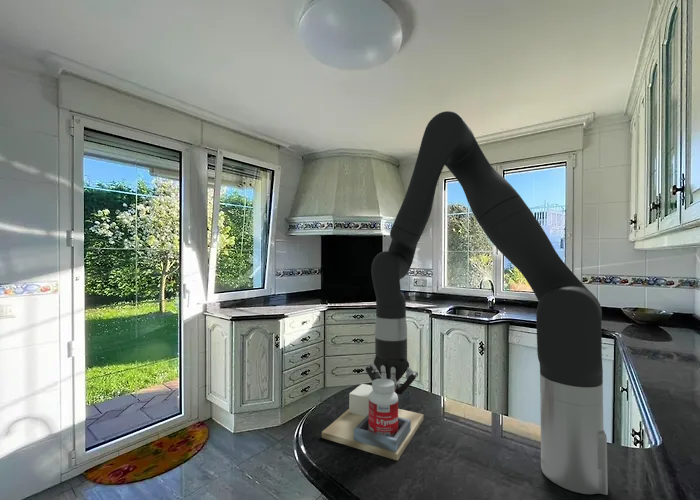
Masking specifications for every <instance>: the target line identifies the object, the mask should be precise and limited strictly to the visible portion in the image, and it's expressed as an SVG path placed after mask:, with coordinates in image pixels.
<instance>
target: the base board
mask: <svg viewBox="0 0 700 500" xmlns="http://www.w3.org/2000/svg"><path fill="white" fill-rule="evenodd" d="M424 416H425V415H424V414H422V413H419V412H415V411H410V410H405V409H402V408H401V409H400V408H398V432H397V434H396V435H395V436H394V438H393V437H389V436H386V435H382V434H378V433H374V432H371V431H369V414H368V415H367V416H366V417H365V416H361V415H357V414H353V413H349V408H348V409H347V410H346V411H345V412H343V414H340V416H339V417H337V418H336V419H335V420H334V421H333V422H331V423H330V424H329V425H328V426H327V427H326V428H324V429H323V430H322V431H321V438H322V439H325V440H327V441H331V442H335V443H338V444H341V445H345V446H347V447H351V448H354V449H358V450H361V451H365V452H368V453H371V454H373V455H378V456H381V457H384V458H388V459H391V460H394V461H399V459H400V457H401V456H402V455H403V452H404V451H405V449H406V448H407V446H408V445H409V443H410V442H411V440H412V439H413V437H414V436H415V434H416V432H417V431H418V429H419V428H420V426H421V425H422V423H423V421H424Z"/></svg>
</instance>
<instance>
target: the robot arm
mask: <svg viewBox="0 0 700 500" xmlns="http://www.w3.org/2000/svg"><path fill="white" fill-rule="evenodd" d="M444 167H446V168H447V169H448V171H450V173H451V174H452V175H453V176H454V178H455V179H456V180H457V181H458V183H459V184H460V186H461V187H462V190H463V192H464V195H465V197H466V201H467V203H468V206H469V208H470V210H471V212H472V214H473V216H474V218H475V220H476V222H477V223H478V225H479V226H480V228H481V229H482V231H484V232H483V233H485V235H486V237H487V238H488V240H489V241H490V242H491V243H492V244H493V246H494V247H495V248H496V249H497V250H498V251H499V252H500V253H501V255H503V256H504V257H505V258H506V259H507V260H508V261H509V263H511V264H512V265H513V266H514V267H515V268H516V269H517V270H518V271H519V272H520V273H521V275H522V276H523V278H525V280H526V282H527V283H528V285H529V287H530V288H531V290H532V292H533V293H534V295H535V297H536V299H537V301H538V304H537V308H536V313H535V314H536V321H535V323H536V350H537V351H536V352H537V354H536V355H537V359H538V362H539V385H540V386H539V388H540V389H539V391H540V392H539V394H540V395H539V396H540V397H539V399H540V401H539V403H540V407H539V408H540V467H541V471H542V473H543V475H544V476H545V477H546V478H547V479H548V480H550V481H551V482H552V483H554V484H556V485H557V486H559V487H561V488H563V489H565V490H568V491H571V492H574V493H579V494H583V495H595V494H597V495H598V494H601V495H605V496H607V495H609V492H608V486H609V485H608V483H609V482H608V443H607V442H608V438H607V433H606V432H605V429H604V428H605V427H604V387H603V386H604V384H603V383H604V382H603V381H604V376H603V373H604V370H603V345H602V343H603V342H602V338H603V337H602V336H603V335H602V317H603V309H602V307H601V303H600V301H599V300H598V298H597V297H596V296H595V295H594V293H593V292H592V291H590V289H588V287H587V286H586V285H584V283H583V282H582V281H581V280H579V278H578V277H577V275H575V274H574V273H573V271H572V270H571V269H570V268H569V267H568V266H567V264H566V263H565V262H564V261H563V260H562V258H561V257H560V255H559V254H558V252H557V251H556V249H555V247H554V245H553V244H552V242H551V240H550V239H549V237H548V235H547V234H546V232H545V230H544V229H543V227H542V225H541V224H540V222H539V221H538V219H537V218H536V216H535V215H534V213H533V212H532V210H531V209H530V208H529V206H528V204H526V202H525V201H524V200H523V198H522V197H521V195H520V194H519V193H518V192H517V190H516V189H515V188H514V187H513V186H512V185H511V183H510V182H508V180H507V179H506V178H505V177H503V175H502V174H500V173H499V172H498V171H497V170H496V169H495V168H494V167H493V165H492V164H491V163H490V162H489V160H488V159H487V157H486V155H485V153H484V152H483V150H482V149H481V146H480V145H479V143H478V141H477V139H476V137H475V134H474V133H473V131H472V129H471V127H470V126H469V125H468V123H467V122H466V121H465V120H464V118H463V117H462V116H461V115H460V114H458V113H457V112H455V111H453V110H452V111H450V110H445V111H441V112H439V113H437V114H436V115H435V116H433V117H432V118H431V119H430V120H429V121H428V123H427V125H426V127H425V129H424V131H423V135H422V139H421V143H420V145H419V149H418V154H417V157H416V161H415V164H414V167H413V168H414V169H413V171H412V175H411V177H410V180H409V184H408V186H407V189H406V192H405V195H404V199H403V200H402V203H401V205H400V207H399V210H398V212H397V214H396V216H395V219H394V221H393V224H392V226H391V229H390V232H389V236H390V238H391V242H390V245H389V247H388V250H387V251H386V250H385V251H381V252H379V253H377V254H376V255H375V257H374V258H373V260H372V263H371V269H370V270H371V271H370V273H371V279H372V284H373V285H372V286H373V290H374V291H373V292H374V293H375V298H376V299H375V301H376V302H375V308H376V309H375V324H374V325H375V326H374V328H375V329H374V345H375V347H374V348H375V349H374V350H375V351H374V355H375V358H374V360H373V363H371V364H370V365H368V366H367V367H365V371H366V373H367V375H368V377H369V378H370V380H371V382H372V381H373V380H375V379H380V378H384V379H390V380H392V381H393V382H394V392H395V393H396V394H397V396H398V397H399V395H402V394H403V393H405V391H407V389H408V388H409V387H410V386H411V384H412V383H413V382H414V381H415V380H416V378H418V376H419V373H418V372H417V371H413V369H412V368H411V367H410V363H409V360H408V323H407V308H406V306H407V304H406V303H407V302H406V301H407V300H406V296H405V294H404V292H402V291H401V289H402V288H401V279H404V278H405V277H406V275H407V274H408V272H409V271H410V269H411V267H412V264H413V261H414V259H415V255H416V251H417V247H418V243H419V241H420V239H421V236H422V235H423V232H424V230H425V228H426V226H427V225H428V222H429V219H430V216H431V214H432V210H433V204H434V199H435V194H436V189H437V185H438V183H439V180H440V176H441V174H442V171H443V169H444ZM404 375H405V379H406V380H405V381H403V383H402V385H401V386H400V382H401V378H402V377H404Z"/></svg>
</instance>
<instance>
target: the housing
mask: <svg viewBox="0 0 700 500" xmlns="http://www.w3.org/2000/svg"><path fill="white" fill-rule="evenodd" d="M371 391H373V389H372V384H371V385H369V384H365V383H361V384H360V385H358V386H357V387H356V388H354V389H353V390H352V391H350V392H349V395H348V397H349V399H348V400H349V402H348V404H349V405H348V409H349V413H353V414H357V415H361V416H365V417H366V416H367V415H368V414H369V394H370V393H371Z"/></svg>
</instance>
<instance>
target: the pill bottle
mask: <svg viewBox="0 0 700 500" xmlns="http://www.w3.org/2000/svg"><path fill="white" fill-rule="evenodd" d="M371 386H372V389H373V391H371V393H370V394H369V431H371V432H374V433H378V434H382V435H386V436H389V437H393V438H394V436H395V435H396V434H397V432H398V409H399V395H398V396H397V394H396V393H395V392H394V382H393V381H392V380H390V379H384V378H382V377H381V378H380V379H375V380H373V381H372V380H371Z"/></svg>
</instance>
